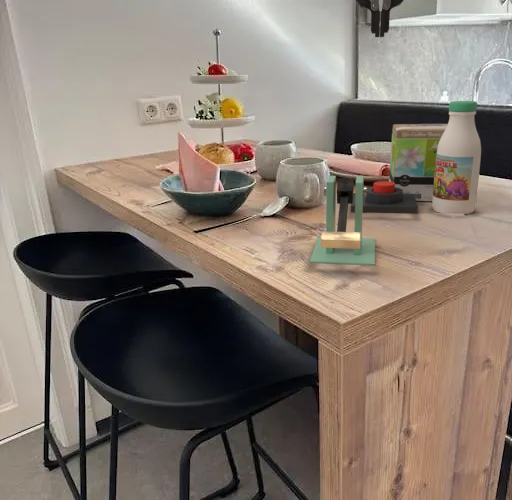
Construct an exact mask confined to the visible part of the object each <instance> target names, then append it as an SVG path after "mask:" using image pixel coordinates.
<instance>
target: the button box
mask: <svg viewBox="0 0 512 500" xmlns="http://www.w3.org/2000/svg"><path fill="white" fill-rule="evenodd" d="M373 187H374V186H371V187H367V196H363V214H408V215H410V214H411V215H413V214H415V215H417V214H418V213H419V211H418V210H419V206H418V201H416V199H415V195H414V194H403V190H402V189H400V188H397V187H395V192H394V193H376V192H373ZM350 213H355V192H353V204H350Z"/></svg>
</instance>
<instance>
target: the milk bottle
mask: <svg viewBox="0 0 512 500" xmlns="http://www.w3.org/2000/svg"><path fill="white" fill-rule="evenodd" d="M477 109H478V101H476V100H475V101H474V100H456V101H455V100H454V101H450V102H449V104H448V115H449V119H448V122H447V124H448V125H447V127H446V129H445V131H444V133H443V135H442V137H441V139H440V141H439V144H438V148H437V155H436V164H435V175H434V188H433V201H431V207H432V210H433V211H434V212H437V213H440V214H453V215H454V214H456V215H458V214H459V215H460V214H461V215H469V214H472V213H474V212H475V210H476V205H477V198H478V197H477V196H478V189H479V179H480V169H481V168H480V167H481V158H482V156H481V155H482V144H481V138H480V135H479V132H478V131H477V130H478V129H477V127H476V121H475V115H477Z"/></svg>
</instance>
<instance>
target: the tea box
mask: <svg viewBox="0 0 512 500" xmlns="http://www.w3.org/2000/svg"><path fill="white" fill-rule="evenodd" d="M447 125H448V123H402V124H401V123H399V124H397V123H396V124H392V131H391V144H390V159H389V173H388V181H389V182H394V183H395V187H397V188H400V189H402V190H403V194H414V195H415V199H416V202H432V201H433V188H434V175H435V164H436V155H437V148H438V144H439V141H440V139H441V137H442V135H443V133H444V131H445V129H446V127H447Z"/></svg>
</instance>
